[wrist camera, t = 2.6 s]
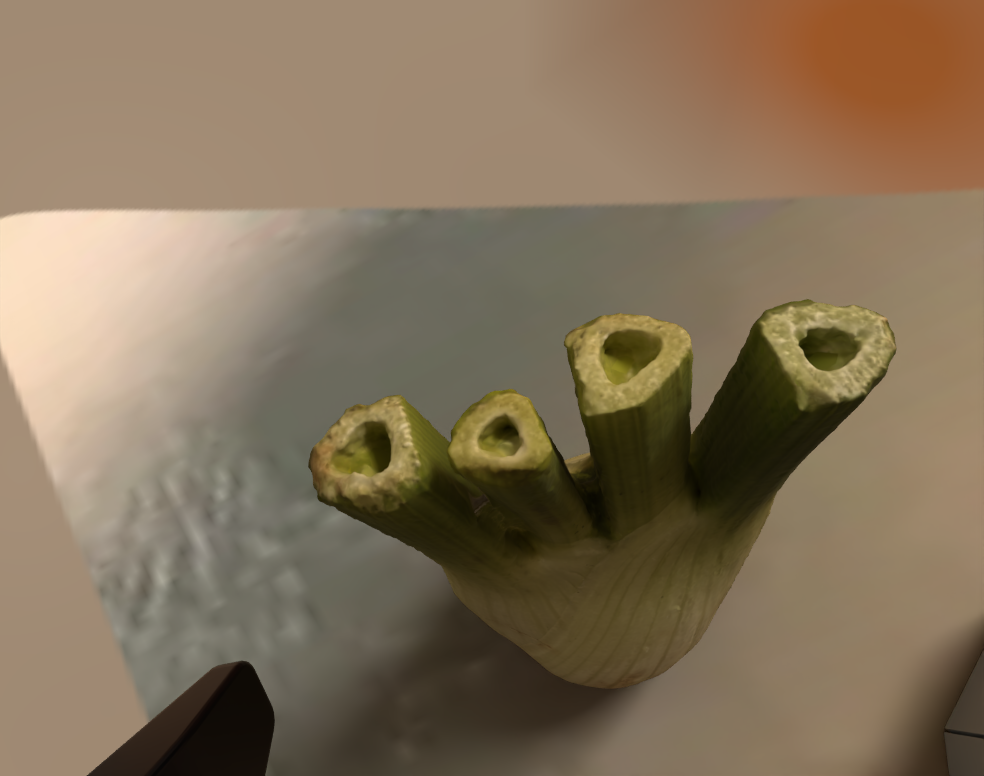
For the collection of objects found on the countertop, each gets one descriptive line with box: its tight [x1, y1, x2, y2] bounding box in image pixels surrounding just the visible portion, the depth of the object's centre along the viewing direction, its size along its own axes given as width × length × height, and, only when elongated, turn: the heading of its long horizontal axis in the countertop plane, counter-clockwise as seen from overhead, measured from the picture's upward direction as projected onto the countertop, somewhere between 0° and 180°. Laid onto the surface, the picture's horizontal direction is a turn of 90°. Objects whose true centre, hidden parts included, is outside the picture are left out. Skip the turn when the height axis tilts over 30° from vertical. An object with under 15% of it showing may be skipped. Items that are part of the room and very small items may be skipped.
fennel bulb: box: [308, 299, 896, 689], centre depth 11 cm, size 6×5×12 cm
